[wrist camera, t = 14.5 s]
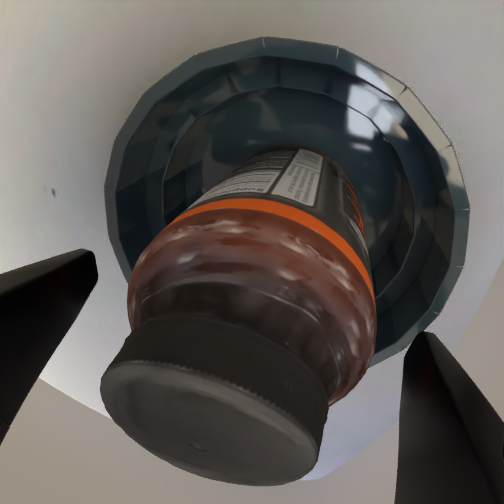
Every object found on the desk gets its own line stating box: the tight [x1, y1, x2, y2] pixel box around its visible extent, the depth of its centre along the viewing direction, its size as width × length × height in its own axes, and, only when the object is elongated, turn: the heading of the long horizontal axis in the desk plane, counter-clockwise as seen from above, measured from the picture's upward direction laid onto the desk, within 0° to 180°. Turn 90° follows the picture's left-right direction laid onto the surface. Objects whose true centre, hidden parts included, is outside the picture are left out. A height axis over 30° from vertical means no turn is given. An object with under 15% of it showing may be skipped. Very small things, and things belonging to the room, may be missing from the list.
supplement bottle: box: [100, 145, 377, 486], centre depth 9 cm, size 6×6×11 cm
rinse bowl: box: [104, 37, 470, 368], centre depth 13 cm, size 13×13×5 cm
